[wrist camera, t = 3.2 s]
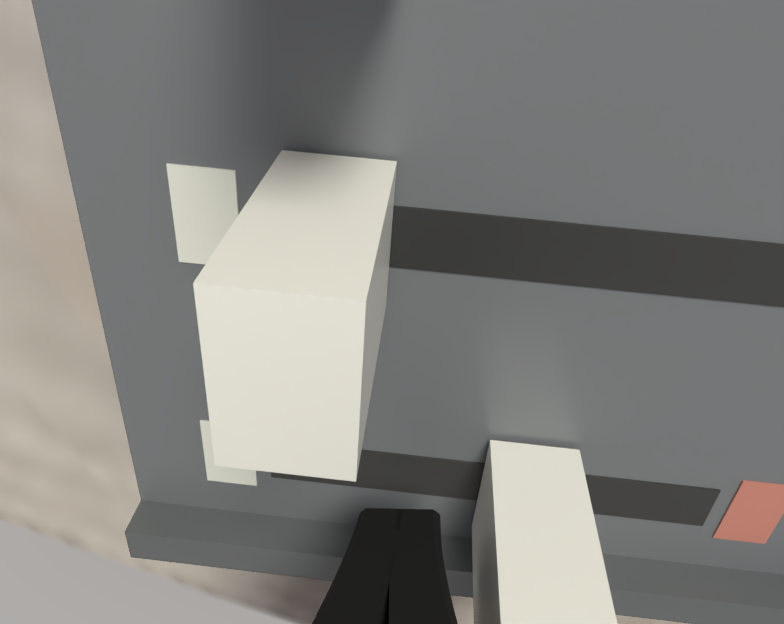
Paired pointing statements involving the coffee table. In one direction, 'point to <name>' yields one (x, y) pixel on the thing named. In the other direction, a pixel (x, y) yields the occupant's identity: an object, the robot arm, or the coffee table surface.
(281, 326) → the block
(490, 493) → the block
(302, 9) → the breaker panel
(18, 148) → the coffee table surface
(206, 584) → the coffee table surface
